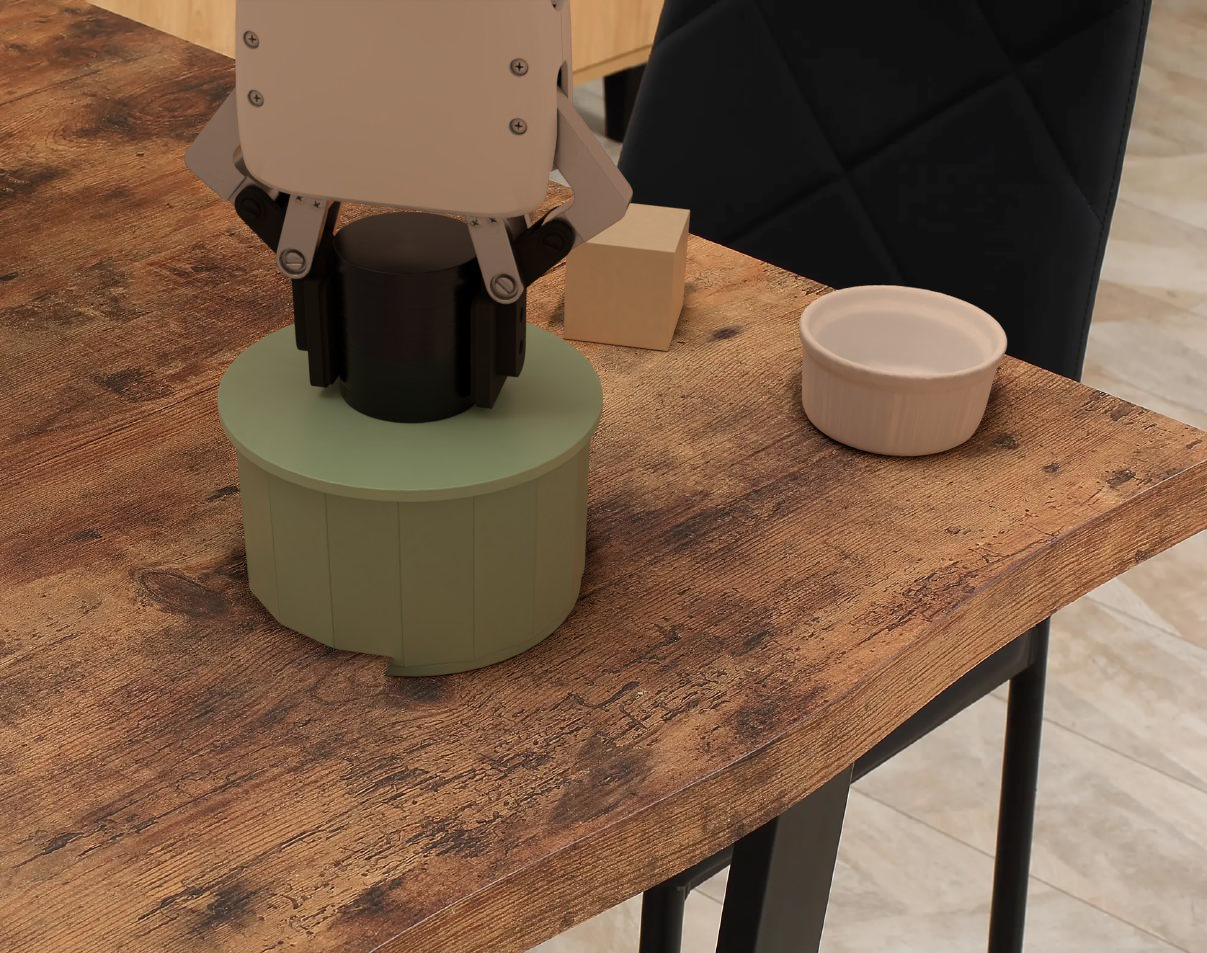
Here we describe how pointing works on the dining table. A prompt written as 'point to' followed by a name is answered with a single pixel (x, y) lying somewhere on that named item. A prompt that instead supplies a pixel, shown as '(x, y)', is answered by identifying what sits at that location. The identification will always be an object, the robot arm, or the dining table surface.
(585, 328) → the tan cube
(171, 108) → the dining table surface
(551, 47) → the robot arm
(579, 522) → the tin
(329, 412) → the tin lid
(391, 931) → the dining table surface
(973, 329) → the ramekin
